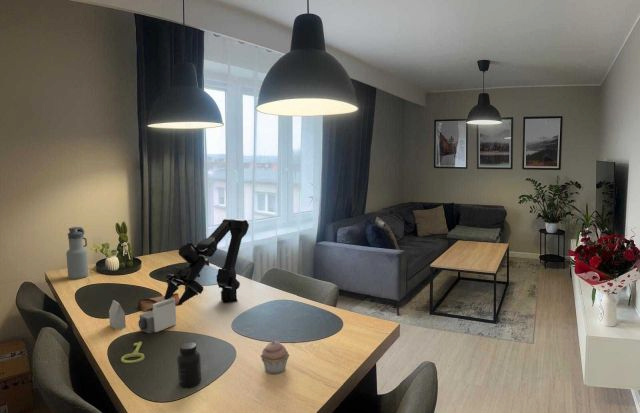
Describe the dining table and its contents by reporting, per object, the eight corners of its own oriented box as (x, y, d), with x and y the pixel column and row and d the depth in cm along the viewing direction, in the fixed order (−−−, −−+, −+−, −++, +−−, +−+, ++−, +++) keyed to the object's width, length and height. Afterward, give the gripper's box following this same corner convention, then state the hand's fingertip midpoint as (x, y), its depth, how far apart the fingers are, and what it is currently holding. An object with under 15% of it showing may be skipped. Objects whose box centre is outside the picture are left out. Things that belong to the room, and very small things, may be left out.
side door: (174, 323, 166) (173, 297, 165) (176, 324, 166) (175, 298, 164) (154, 331, 159) (152, 304, 158) (156, 332, 158) (155, 305, 157)
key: (142, 346, 149) (141, 340, 149) (145, 361, 138) (144, 355, 138) (120, 350, 146) (119, 344, 145) (121, 366, 135) (121, 360, 134)
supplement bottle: (192, 374, 129) (190, 338, 128) (206, 381, 126) (205, 343, 124) (173, 384, 124) (171, 346, 122) (187, 391, 120) (186, 353, 118)
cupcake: (261, 362, 137) (261, 334, 135) (289, 361, 137) (289, 333, 136) (259, 377, 127) (258, 347, 126) (289, 377, 128) (288, 346, 127)
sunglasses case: (142, 312, 178) (139, 297, 180) (139, 316, 184) (137, 301, 186) (184, 304, 188) (181, 290, 190) (180, 307, 194) (177, 293, 196)
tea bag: (116, 330, 161) (114, 305, 160) (109, 324, 166) (108, 301, 165) (125, 327, 164) (124, 303, 163) (119, 322, 169) (117, 298, 167)
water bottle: (76, 273, 235) (73, 225, 231) (92, 274, 234) (89, 226, 230) (64, 279, 225) (59, 229, 221) (80, 279, 224) (76, 229, 220)
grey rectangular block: (163, 321, 169) (162, 307, 169) (171, 325, 166) (171, 310, 165) (137, 330, 161) (136, 316, 160) (146, 334, 157) (145, 319, 156)
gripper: (168, 254, 172) (144, 287, 164) (196, 261, 161) (172, 296, 153) (185, 269, 179) (163, 300, 171) (212, 276, 168) (191, 310, 160)
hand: (171, 301), depth 164 cm, fingers open, 9 cm apart
